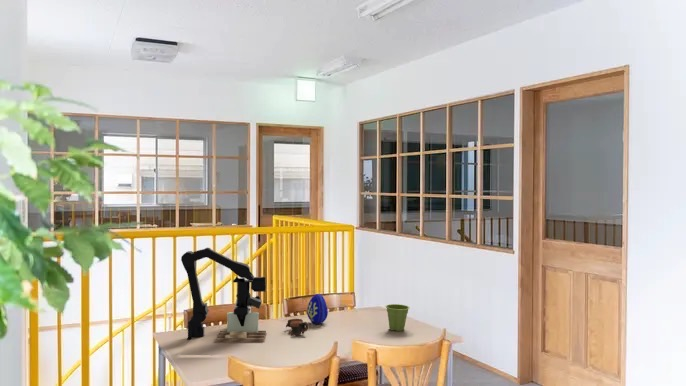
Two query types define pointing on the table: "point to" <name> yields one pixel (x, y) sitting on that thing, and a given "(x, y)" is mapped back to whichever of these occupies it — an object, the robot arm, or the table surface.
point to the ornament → (317, 309)
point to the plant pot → (397, 316)
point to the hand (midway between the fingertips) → (242, 325)
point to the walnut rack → (251, 337)
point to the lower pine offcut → (233, 337)
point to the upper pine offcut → (238, 333)
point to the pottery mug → (297, 326)
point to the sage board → (249, 323)
